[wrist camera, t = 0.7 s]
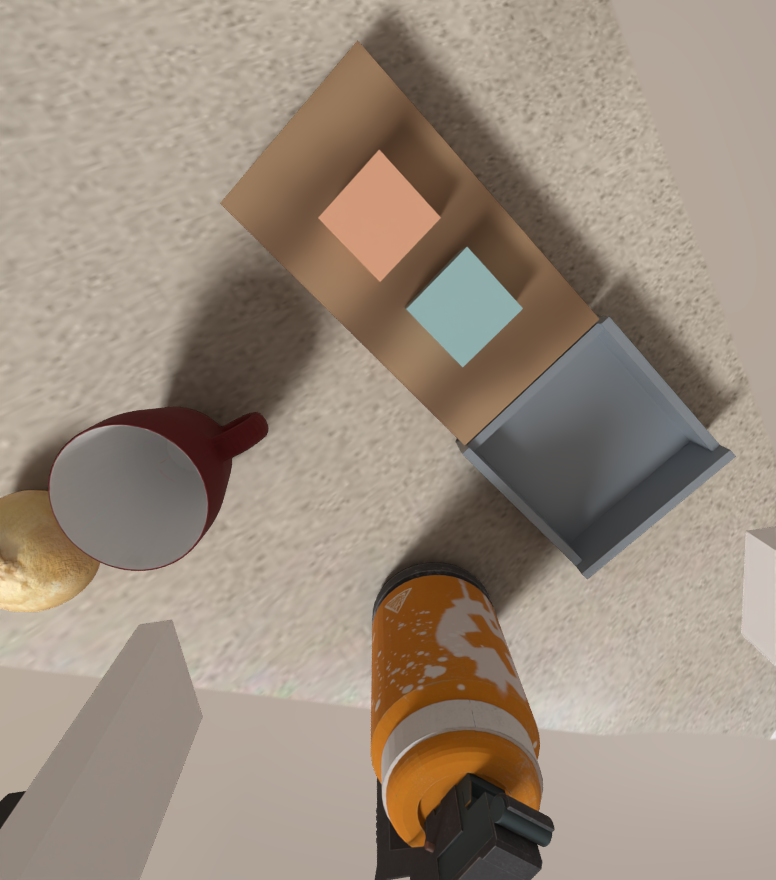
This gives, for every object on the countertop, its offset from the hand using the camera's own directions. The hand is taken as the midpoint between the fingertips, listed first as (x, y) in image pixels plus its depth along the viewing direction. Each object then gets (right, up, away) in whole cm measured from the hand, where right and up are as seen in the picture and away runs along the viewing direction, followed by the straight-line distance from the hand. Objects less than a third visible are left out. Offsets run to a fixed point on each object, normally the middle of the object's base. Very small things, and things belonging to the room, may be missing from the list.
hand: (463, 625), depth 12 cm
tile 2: (-2, +16, +18) cm, 24 cm away
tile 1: (+2, +12, +19) cm, 23 cm away
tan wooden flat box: (0, +15, +21) cm, 26 cm away
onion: (-25, -2, +26) cm, 36 cm away
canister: (+1, -10, +28) cm, 30 cm away
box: (+11, +4, +24) cm, 27 cm away
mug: (-14, +5, +24) cm, 28 cm away
